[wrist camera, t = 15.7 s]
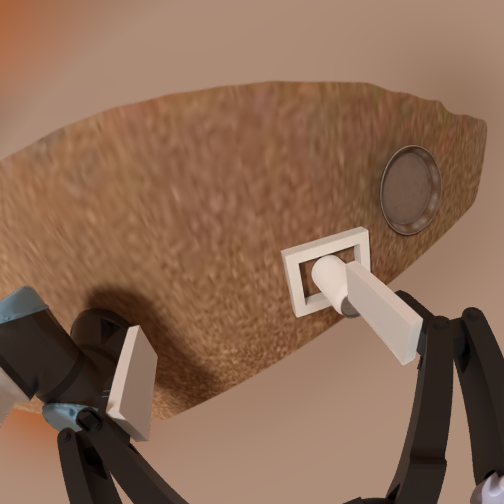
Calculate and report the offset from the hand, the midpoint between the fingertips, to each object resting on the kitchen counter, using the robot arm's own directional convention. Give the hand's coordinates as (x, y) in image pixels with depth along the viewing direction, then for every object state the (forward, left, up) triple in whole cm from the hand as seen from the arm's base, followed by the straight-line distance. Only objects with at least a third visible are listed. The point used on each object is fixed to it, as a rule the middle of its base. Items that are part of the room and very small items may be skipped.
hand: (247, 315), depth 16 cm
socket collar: (+16, -16, -29) cm, 37 cm away
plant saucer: (+36, -5, -29) cm, 47 cm away
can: (+16, -16, -29) cm, 37 cm away
